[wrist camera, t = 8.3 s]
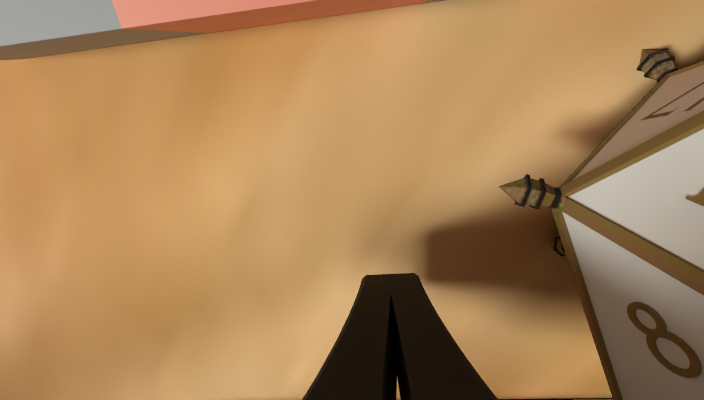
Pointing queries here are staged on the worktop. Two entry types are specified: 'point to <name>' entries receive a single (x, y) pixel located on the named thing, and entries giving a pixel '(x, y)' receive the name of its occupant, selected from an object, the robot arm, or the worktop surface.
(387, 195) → the worktop surface
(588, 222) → the game die
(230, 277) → the worktop surface
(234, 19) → the trap track
